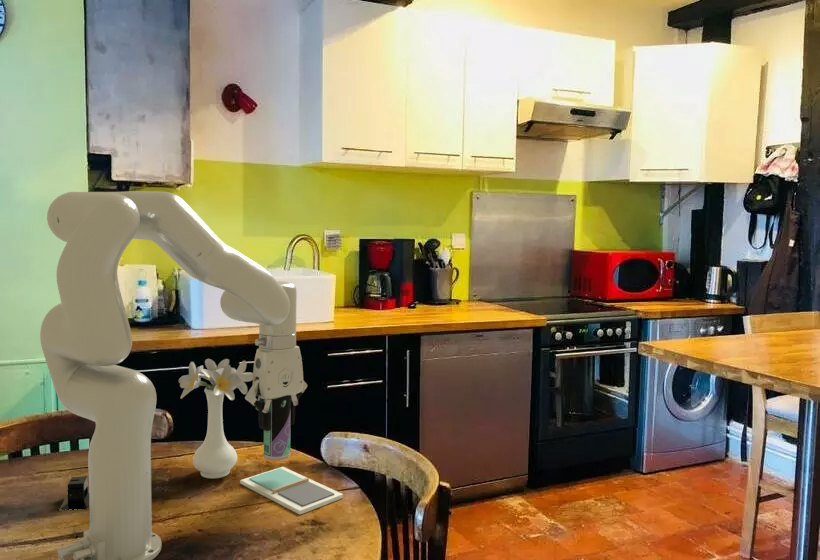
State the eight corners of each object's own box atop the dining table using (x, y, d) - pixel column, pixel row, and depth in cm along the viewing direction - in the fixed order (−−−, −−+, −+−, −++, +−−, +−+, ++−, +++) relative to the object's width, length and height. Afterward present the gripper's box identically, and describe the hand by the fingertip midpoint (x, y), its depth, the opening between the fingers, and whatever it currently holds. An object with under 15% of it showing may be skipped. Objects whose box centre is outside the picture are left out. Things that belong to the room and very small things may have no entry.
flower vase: (260, 460, 158) (261, 353, 156) (221, 492, 140) (221, 372, 138) (209, 454, 161) (209, 349, 158) (164, 484, 143) (163, 367, 141)
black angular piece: (65, 490, 140) (65, 469, 140) (104, 488, 142) (103, 466, 142) (50, 518, 128) (50, 494, 128) (93, 514, 130) (92, 491, 130)
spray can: (284, 461, 142) (285, 366, 140) (259, 458, 143) (259, 364, 141) (294, 452, 147) (295, 360, 145) (270, 449, 148) (270, 358, 146)
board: (299, 514, 132) (300, 507, 132) (240, 483, 145) (240, 476, 145) (343, 498, 140) (343, 490, 140) (282, 469, 153) (282, 463, 153)
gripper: (253, 350, 134) (252, 440, 136) (321, 339, 146) (320, 421, 148) (231, 344, 139) (231, 431, 141) (299, 333, 151) (298, 413, 153)
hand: (277, 425), depth 144 cm, fingers closed on spray can, 5 cm apart
